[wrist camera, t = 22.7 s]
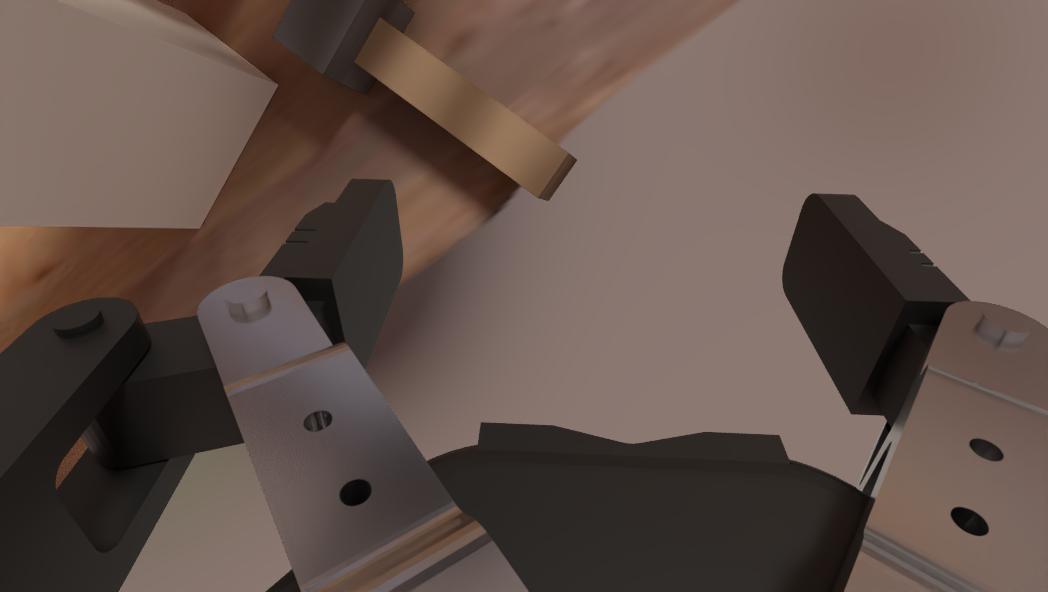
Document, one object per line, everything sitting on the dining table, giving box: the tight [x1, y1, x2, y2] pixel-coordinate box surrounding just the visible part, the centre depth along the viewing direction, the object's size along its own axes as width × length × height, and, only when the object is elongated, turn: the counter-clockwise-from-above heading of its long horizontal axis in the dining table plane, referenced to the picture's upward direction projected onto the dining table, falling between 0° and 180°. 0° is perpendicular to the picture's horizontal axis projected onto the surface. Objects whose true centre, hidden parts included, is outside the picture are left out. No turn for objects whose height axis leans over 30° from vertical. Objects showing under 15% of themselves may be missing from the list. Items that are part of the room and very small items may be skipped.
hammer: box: [272, 0, 577, 201], centre depth 34 cm, size 18×6×5 cm, turn 54°
